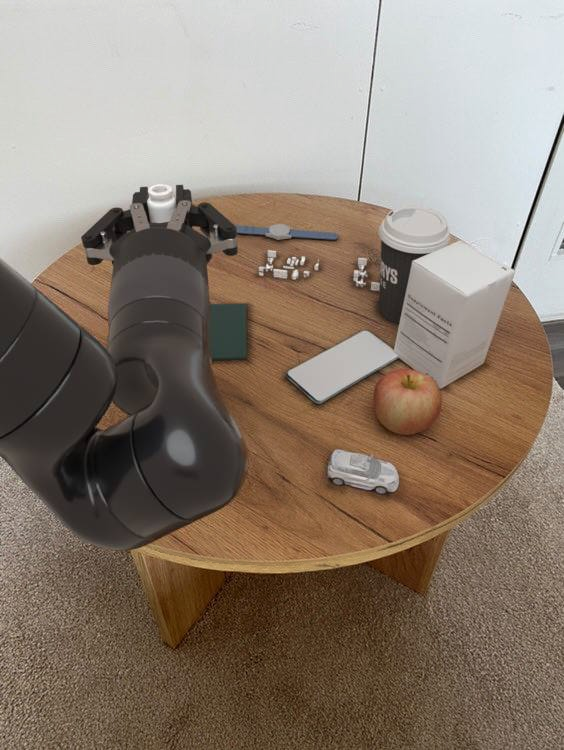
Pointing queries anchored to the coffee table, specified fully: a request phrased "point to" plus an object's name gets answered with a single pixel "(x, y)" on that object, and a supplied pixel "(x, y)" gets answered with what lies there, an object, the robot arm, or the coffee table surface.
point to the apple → (407, 401)
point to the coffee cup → (406, 251)
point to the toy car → (362, 472)
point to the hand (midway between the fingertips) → (162, 195)
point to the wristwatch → (285, 232)
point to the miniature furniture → (283, 273)
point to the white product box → (451, 311)
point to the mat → (228, 332)
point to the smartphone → (341, 366)
